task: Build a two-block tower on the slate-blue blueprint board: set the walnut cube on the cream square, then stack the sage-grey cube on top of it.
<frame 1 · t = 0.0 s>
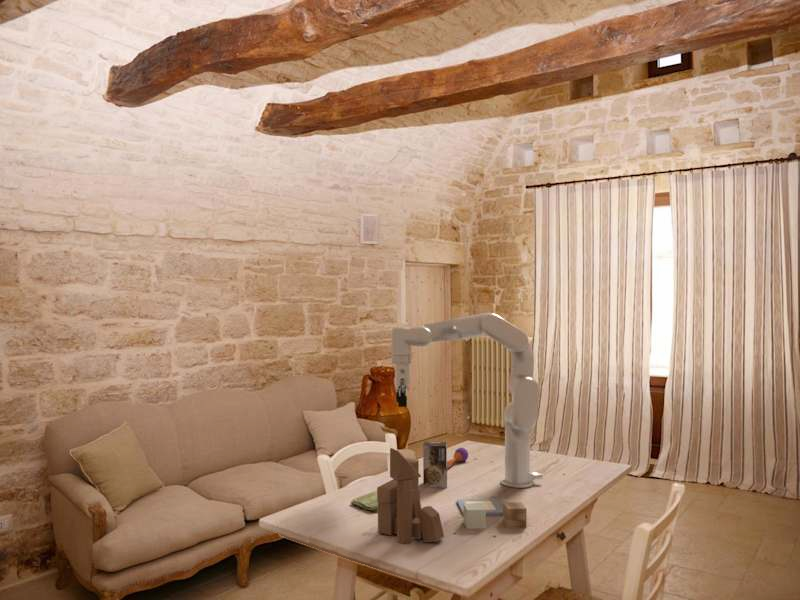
hand: (401, 404, 243), 31 cm above the table, tool pointing down, fingers open, 9 cm apart
sage block: (474, 525, 203), on the table
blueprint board: (480, 508, 218), on the table
washcloth: (380, 505, 223), on the table
coffee box: (435, 485, 244), on the table
walnut block: (514, 524, 204), on the table
kendama: (454, 465, 273), on the table
wooden blocks: (416, 533, 196), on the table
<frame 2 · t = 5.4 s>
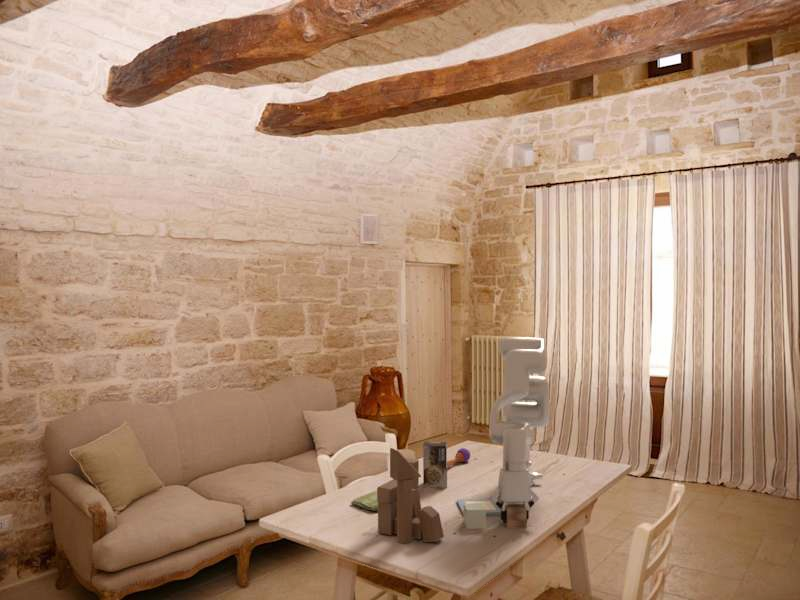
hand: (514, 521, 204), 1 cm above the table, tool pointing down, fingers closed on walnut block, 6 cm apart
walnut block: (514, 524, 204), on the table, touching gripper
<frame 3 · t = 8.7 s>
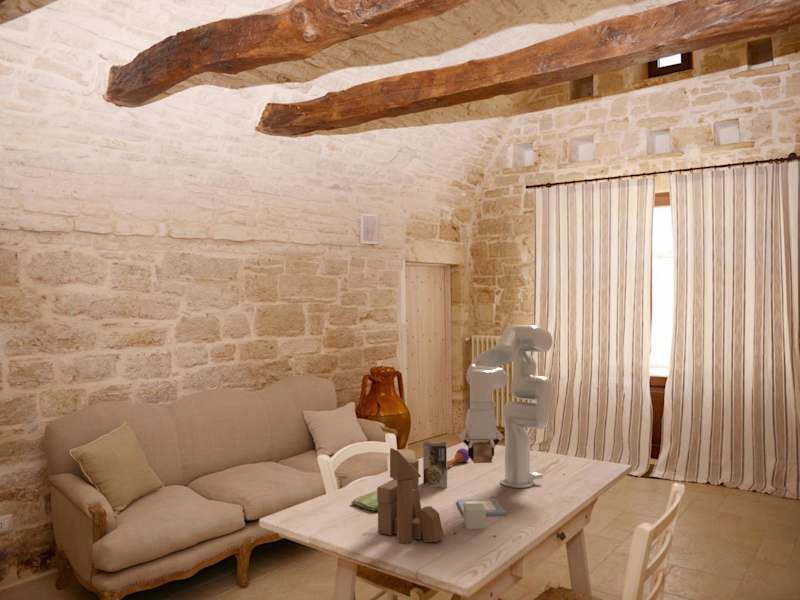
hand: (481, 457, 218), 17 cm above the table, tool pointing down, fingers closed on walnut block, 6 cm apart
walnut block: (481, 460, 218), point 17 cm above the table, touching gripper
everything else where it was.
when the fingers open (3 cm above the table, at t = 11.9 s): walnut block drops 1 cm, resting on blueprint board.
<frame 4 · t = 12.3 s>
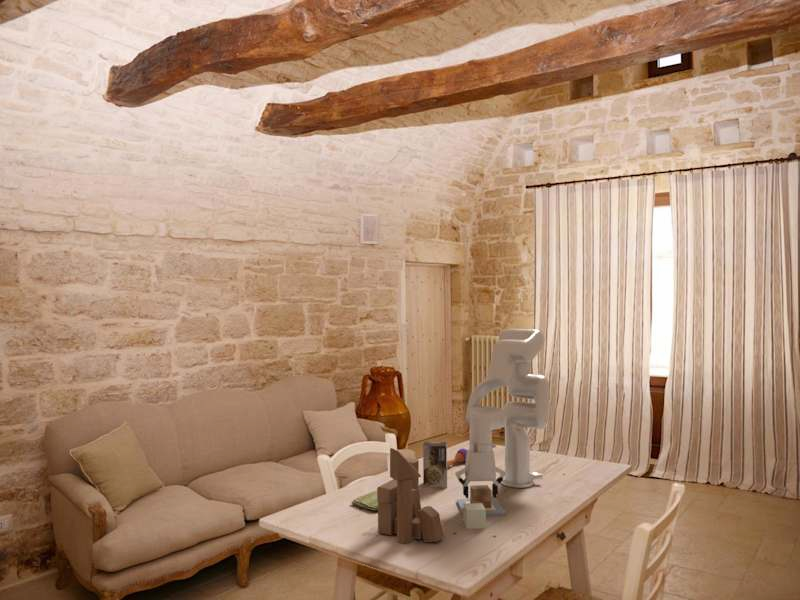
hand: (480, 496, 218), 4 cm above the table, tool pointing down, fingers open, 9 cm apart
walnut block: (480, 505, 218), point 1 cm above the table, touching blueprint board
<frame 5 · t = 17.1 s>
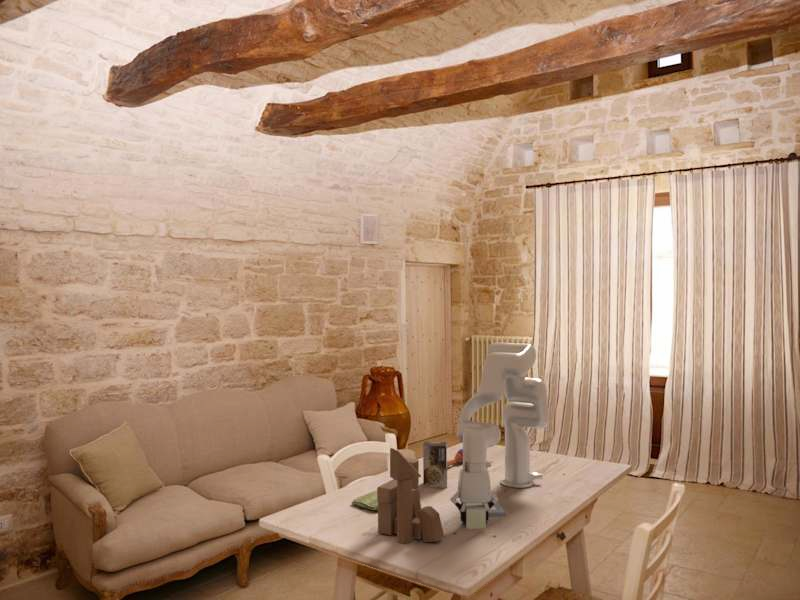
hand: (474, 522, 203), 1 cm above the table, tool pointing down, fingers closed on sage block, 6 cm apart
sage block: (474, 525, 203), on the table, touching gripper
when the fingers open (9 cm above the table, at t = 23.0 s): sage block drops 1 cm, resting on walnut block.
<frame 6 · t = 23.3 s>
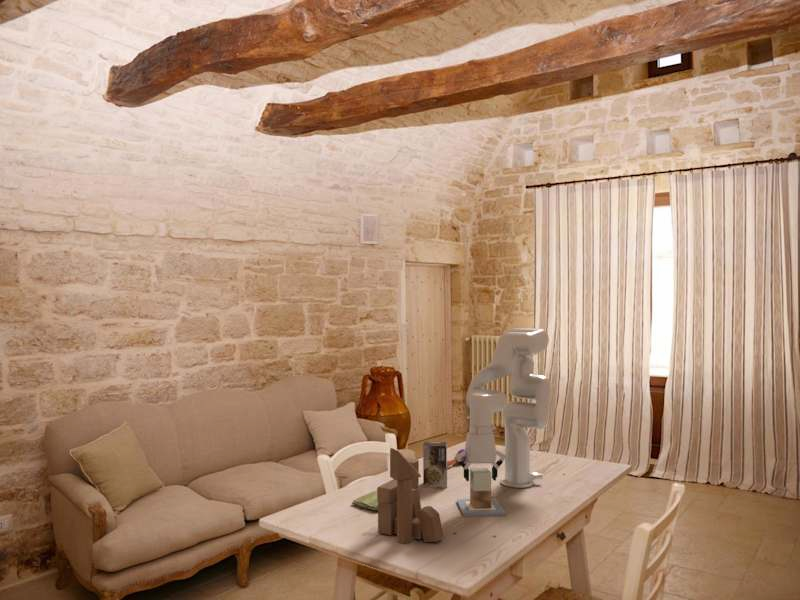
hand: (480, 479, 218), 10 cm above the table, tool pointing down, fingers open, 9 cm apart
sage block: (480, 488, 218), point 7 cm above the table, touching walnut block
walnut block: (480, 505, 218), point 1 cm above the table, touching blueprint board, sage block
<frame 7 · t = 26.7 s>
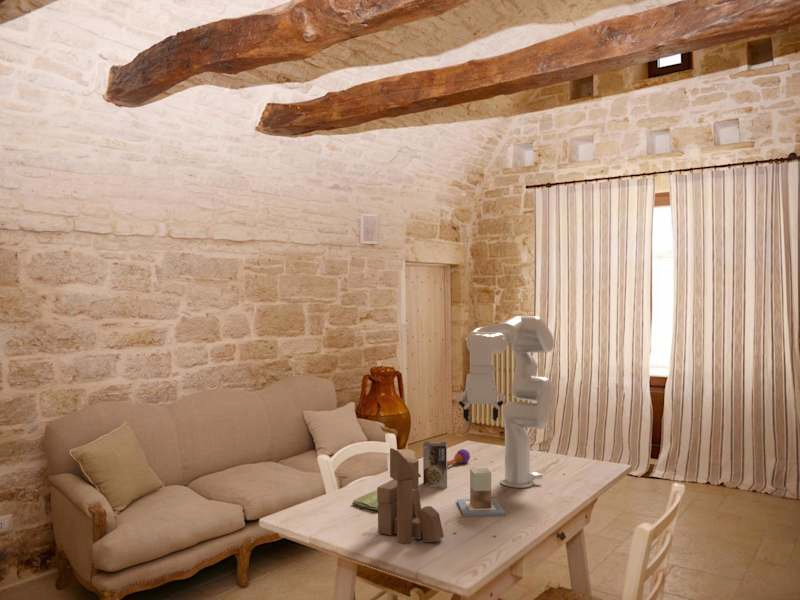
hand: (480, 420, 218), 30 cm above the table, tool pointing down, fingers open, 9 cm apart
at the end: walnut block 0.1 cm off-centre on the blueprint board, point 1.0 cm above the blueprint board's base; sage block 0.0 cm from the walnut block (horizontally); sage block point 7.0 cm above the table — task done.
